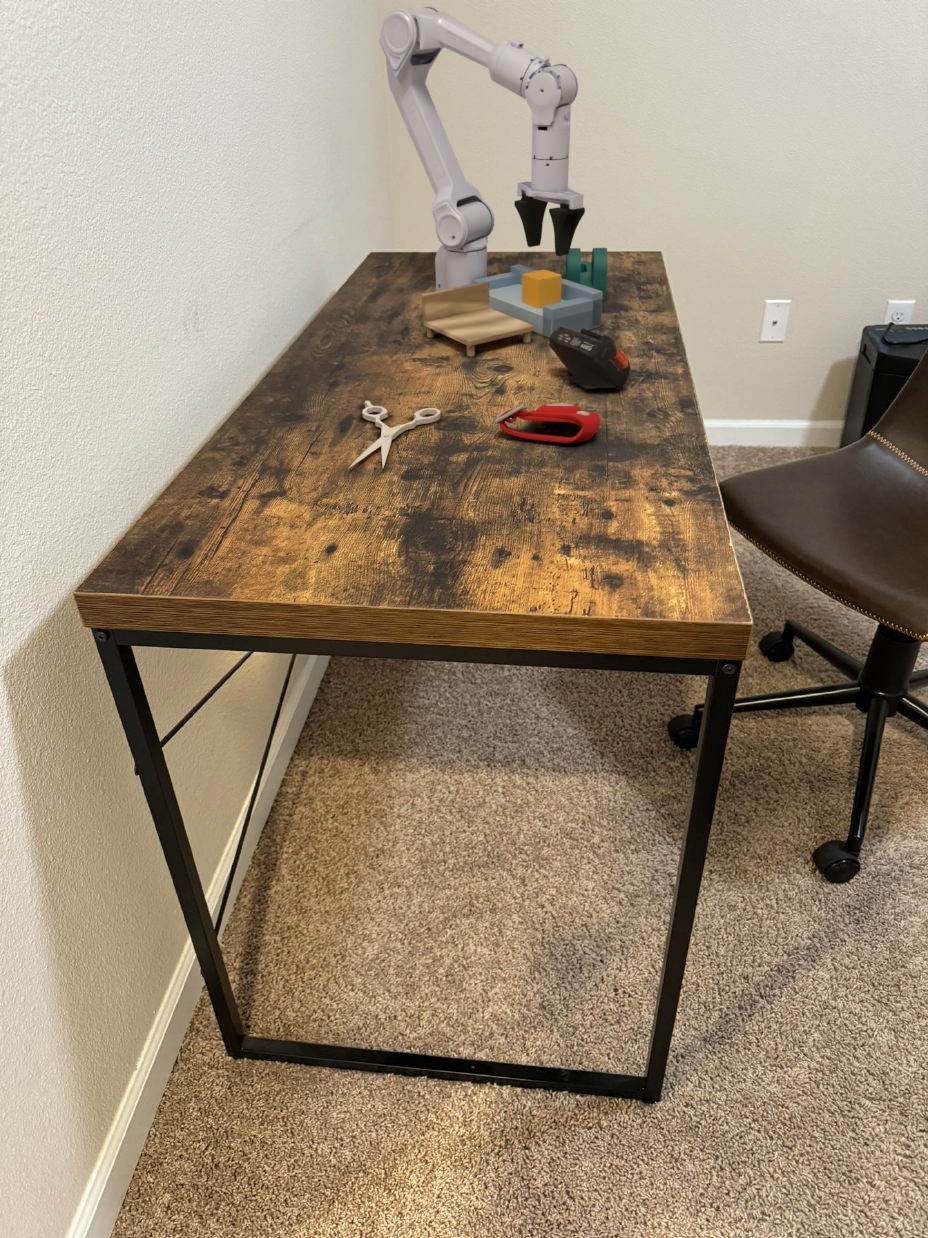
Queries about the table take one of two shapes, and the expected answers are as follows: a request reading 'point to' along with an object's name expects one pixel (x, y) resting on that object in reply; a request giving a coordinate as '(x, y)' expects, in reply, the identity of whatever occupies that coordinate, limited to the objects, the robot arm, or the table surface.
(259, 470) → the table surface
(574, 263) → the bracket
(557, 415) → the tracker holder
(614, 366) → the battery
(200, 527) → the table surface
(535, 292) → the block
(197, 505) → the table surface
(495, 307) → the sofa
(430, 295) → the low wooden bench
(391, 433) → the scissors
